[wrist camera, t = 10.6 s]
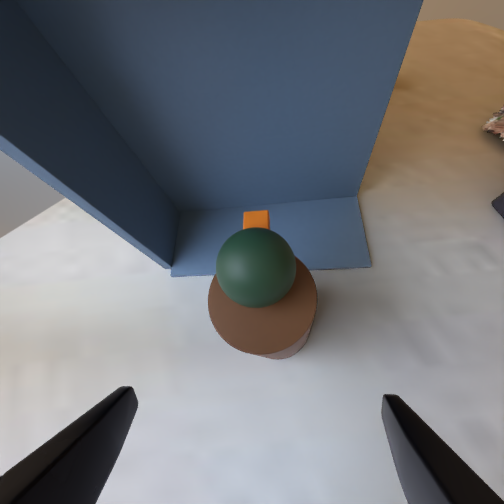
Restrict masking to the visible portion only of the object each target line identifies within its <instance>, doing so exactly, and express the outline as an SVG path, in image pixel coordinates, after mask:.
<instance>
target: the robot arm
mask: <svg viewBox="0 0 504 504" xmlns="http://www.w3.org/2000/svg"><path fill="white" fill-rule="evenodd" d="M137 408H138V400H137V397H136V395H135V392H134V389H133V388H132V387H131V386H122V387H120V388H118V389H117V390H116V391H114V392H113V393H111V394H110V395H109V396H107V397H106V398H105V399H103V400H102V401H101V402H99V403H98V404H97V405H95V406H94V407H93V408H91V409H90V410H89V411H87V412H86V413H85V414H83V415H82V416H81V417H79V418H78V419H77V420H75V421H74V422H73V423H71V424H70V425H69V426H67V427H66V428H65V429H63V430H62V431H61V432H59V433H58V434H57V435H55V436H54V437H53V438H51V439H50V440H49V441H47V442H46V443H44V444H43V445H42V446H40V447H39V448H38V449H36V450H35V451H34V452H32V453H31V454H30V455H28V456H27V457H26V458H24V459H23V460H22V461H20V462H19V463H18V464H16V465H15V466H14V467H12V468H11V469H10V470H8V471H7V472H6V473H4V475H3V476H0V504H96V502H97V500H98V498H99V496H100V493H101V491H102V489H103V487H104V485H105V483H106V481H107V479H108V477H109V475H110V473H111V471H112V469H113V467H114V465H115V463H116V460H117V458H118V456H119V454H120V451H121V449H122V447H123V444H124V441H125V439H126V436H127V434H128V431H129V429H130V426H131V424H132V421H133V419H134V416H135V413H136V411H137ZM381 414H382V420H383V424H384V427H385V431H386V434H387V438H388V442H389V445H390V449H391V452H392V456H393V459H394V463H395V467H396V470H397V473H398V477H399V480H400V483H401V485H402V488H403V491H404V494H405V496H406V499H407V501H408V504H504V501H503V500H502V499H501V498H500V497H499V496H498V495H497V494H496V493H495V492H494V491H493V490H492V489H491V488H490V487H489V486H488V485H487V484H486V483H485V482H484V481H483V480H482V479H481V478H480V477H479V476H478V475H477V474H476V473H475V472H474V471H473V470H472V469H471V468H470V467H469V466H468V465H467V464H466V463H465V462H464V461H463V460H462V459H461V458H460V457H459V456H458V455H457V454H456V453H455V452H454V451H453V450H452V449H451V448H450V447H449V446H448V445H447V444H446V443H445V442H444V441H443V440H442V439H441V438H440V437H439V436H438V435H437V434H436V433H435V432H434V431H433V430H432V429H431V428H430V427H429V426H428V425H427V424H426V423H425V422H424V421H423V420H422V419H421V418H420V417H419V416H418V415H417V414H416V413H415V412H414V411H413V410H412V409H411V408H410V407H409V406H408V405H407V404H406V403H405V402H404V401H403V400H402V399H401V398H400V397H399V396H398V395H394V394H384V395H383V400H382V411H381Z"/></svg>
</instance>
